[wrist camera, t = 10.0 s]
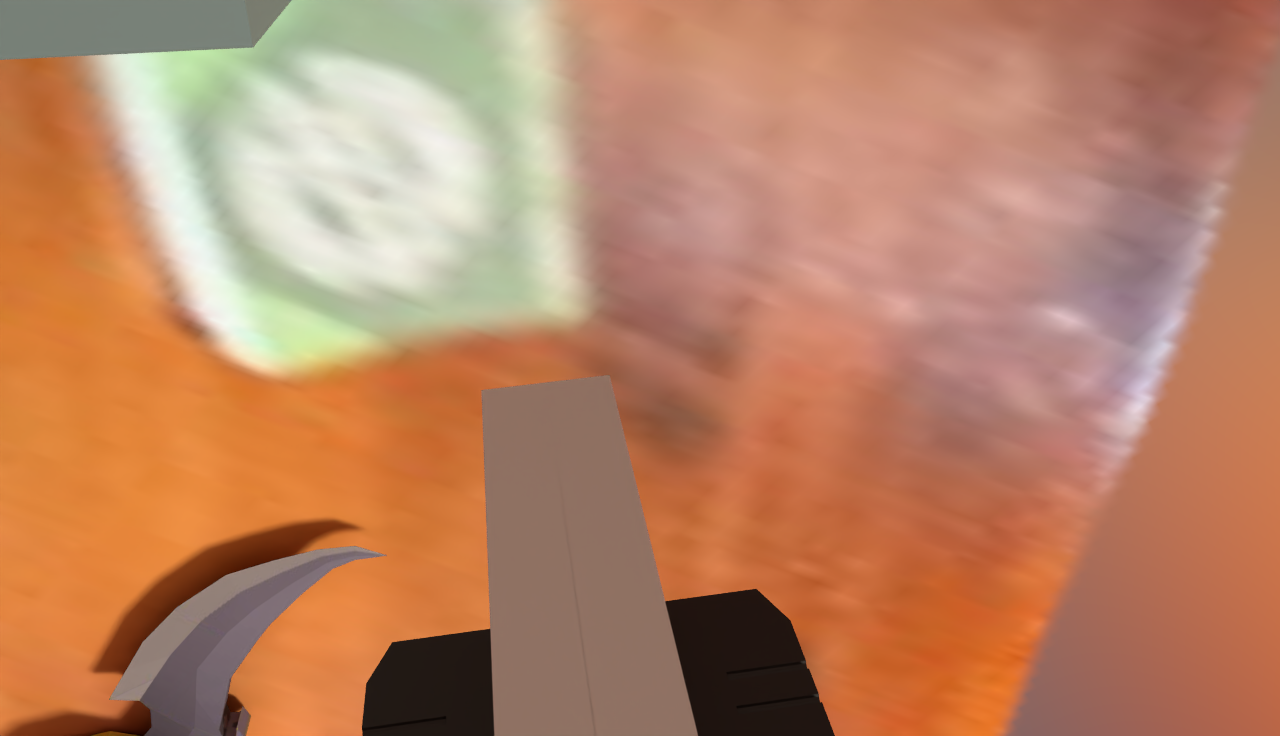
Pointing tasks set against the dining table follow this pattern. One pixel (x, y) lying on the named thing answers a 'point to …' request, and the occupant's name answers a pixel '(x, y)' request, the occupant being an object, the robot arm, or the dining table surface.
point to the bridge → (130, 26)
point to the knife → (217, 644)
